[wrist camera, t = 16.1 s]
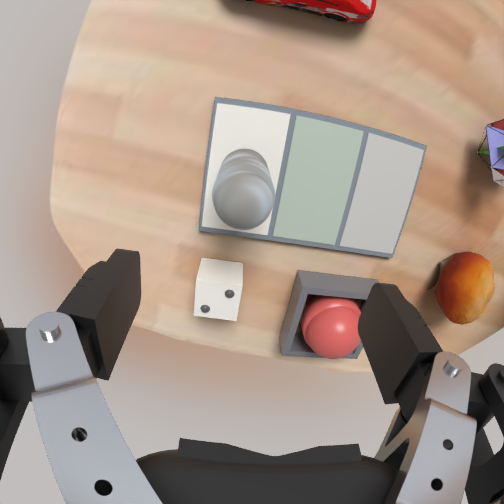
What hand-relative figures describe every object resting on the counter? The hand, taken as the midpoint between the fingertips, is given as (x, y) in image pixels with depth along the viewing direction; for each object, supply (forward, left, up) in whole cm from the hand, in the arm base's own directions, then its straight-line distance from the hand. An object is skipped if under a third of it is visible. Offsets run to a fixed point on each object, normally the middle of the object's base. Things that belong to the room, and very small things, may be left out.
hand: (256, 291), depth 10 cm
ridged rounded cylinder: (0, 0, -18) cm, 18 cm away
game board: (-6, 0, -18) cm, 19 cm away
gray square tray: (-11, +14, -18) cm, 25 cm away
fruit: (-26, +7, -18) cm, 32 cm away
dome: (-11, +14, -18) cm, 25 cm away
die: (+1, +11, -18) cm, 21 cm away
